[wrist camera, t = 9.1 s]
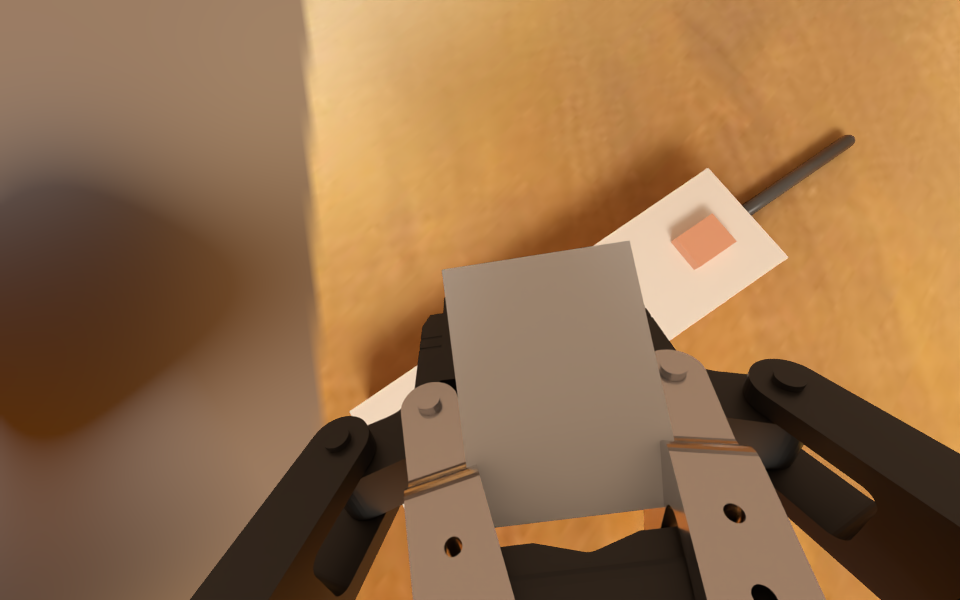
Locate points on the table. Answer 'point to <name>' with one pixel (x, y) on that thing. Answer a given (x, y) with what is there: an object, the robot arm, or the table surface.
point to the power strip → (679, 257)
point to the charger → (558, 384)
